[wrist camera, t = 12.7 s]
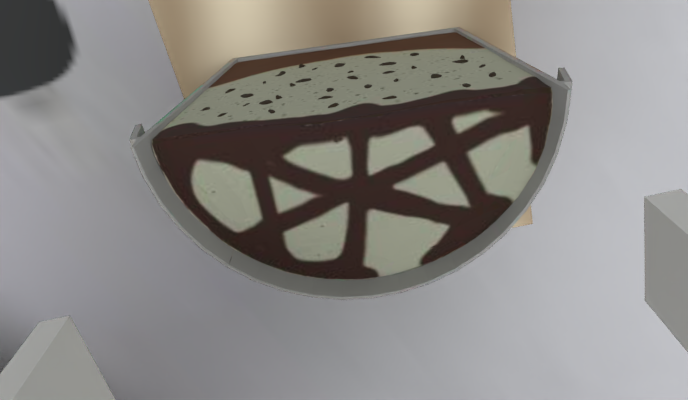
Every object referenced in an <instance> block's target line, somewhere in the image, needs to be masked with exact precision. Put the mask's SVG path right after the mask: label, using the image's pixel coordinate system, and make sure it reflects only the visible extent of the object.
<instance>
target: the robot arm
mask: <svg viewBox="0 0 688 400" xmlns="http://www.w3.org/2000/svg"><path fill="white" fill-rule="evenodd" d="M644 232H645V301H646V302H647V304H648V305H649V306H650V307H651V309H652V310H653V311H654V312H655V313H656V315H657V316H658V317H659V318H660V319H661V321H662V322H663V323H664V324H665V325H666V327H667V328H668V329H669V330H670V331H671V333H672V334H673V335H674V336H675V338H676V339H677V340H678V341H679V342H680V344H681V345H682V346H683V347H684V348H685V350H686V351H687V352H688V194H687V193H686V192H684V191H683V190H682V189H679V190H674V191H669V192H664V193H660V194H655V195H650V196H645V197H644ZM0 400H115V398H114V396H113V395H112V393H111V391H110V389H109V387H108V385H107V383H106V382H105V380H104V378H103V376H102V374H101V372H100V370H99V369H98V367H97V365H96V363H95V361H94V359H93V358H92V356H91V354H90V352H89V350H88V348H87V346H86V345H85V343H84V341H83V339H82V337H81V335H80V333H79V332H78V330H77V328H76V326H75V324H74V322H73V320H72V319H71V317H70V316H65V317H60V318H55V319H50V320H46V321H41V322H39V323H38V324H37V325H36V327H35V328H34V329H33V331H32V332H31V334H30V335H29V336H28V338H27V339H26V340H25V342H24V343H23V344H22V346H21V347H20V348H19V350H18V351H17V352H16V354H15V355H14V356H13V358H12V359H11V360H10V362H9V363H8V364H7V366H6V367H5V368H4V370H3V371H2V372H1V374H0Z"/></svg>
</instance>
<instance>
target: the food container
mask: <svg viewBox="0 0 688 400" xmlns="http://www.w3.org/2000/svg"><path fill="white" fill-rule="evenodd" d="M571 89H572V80H571V78H570V76H569V75H568V73H567V71H566V69H565V68H559V69H558V77H557V79H555V78H553V77H551V76H549V75H548V74H546V73H544V72H542V71H540V70H538V69H536V68H534V67H533V66H531V65H529V64H527V63H525V62H523V61H521V60H520V59H518V58H516V57H514V56H512V55H510V54H508V53H507V52H505V51H503V50H501V49H499V48H497V47H495V46H494V45H492V44H490V43H488V42H486V41H484V40H482V39H481V38H479V37H477V36H475V35H473V34H471V33H469V32H468V31H466V30H464V29H462V28H460V27H454V28H447V29H440V30H433V31H426V32H419V33H411V34H404V35H397V36H390V37H383V38H375V39H368V40H361V41H354V42H347V43H339V44H332V45H325V46H318V47H311V48H304V49H296V50H289V51H282V52H275V53H268V54H260V55H253V56H246V57H239V58H233V59H232V60H230V61H229V62H228V63H227V64H226V65H225V66H223V67H222V68H221V69H220V70H219V71H218V72H216V73H215V74H214V75H213V76H212V77H210V78H209V79H208V80H207V81H206V82H205V83H203V84H202V85H201V86H200V87H199V88H197V89H196V90H195V91H194V92H193V93H192V94H190V95H189V96H188V97H187V98H186V99H185V100H183V101H182V102H181V103H180V104H179V105H177V106H176V107H175V108H174V109H173V110H172V111H170V112H169V113H168V114H167V115H166V116H164V117H163V118H162V119H161V120H160V121H159V122H157V123H156V124H155V125H154V126H153V127H152V128H150V129H149V130H148V131H147V132H146V133H145V131H144V129H143V126H142V124H138V125H135V128H134V130H133V132H132V135H131V137H130V139H129V141H130V143H131V150H132V152H133V155H134V157H135V159H136V162H137V164H138V167H139V169H140V171H141V174H142V176H143V178H144V179H145V181H146V183H147V184H148V186H149V188H150V190H151V191H152V193H153V195H154V196H155V198H156V200H157V201H158V203H159V204H160V206H161V207H162V208H163V209H164V211H165V212H166V213H167V214H168V216H169V217H170V218H171V219H172V220H173V222H174V223H175V224H176V225H177V227H178V228H179V229H180V230H181V231H182V232H183V233H185V234H186V235H187V236H188V237H189V238H190V239H191V240H192V241H193V242H194V243H195V244H196V245H197V246H199V247H200V248H201V249H202V250H203V251H205V252H206V253H208V254H209V255H210V256H212V257H213V258H215V259H216V260H218V261H219V262H220V263H222V264H223V265H225V266H226V267H228V268H230V269H232V270H234V271H236V272H238V273H240V274H241V275H243V276H245V277H247V278H249V279H251V280H253V281H256V282H258V283H261V284H264V285H267V286H270V287H272V288H275V289H278V290H281V291H285V292H289V293H294V294H299V295H303V296H308V297H315V298H327V299H339V300H345V299H365V298H375V297H381V296H386V295H392V294H397V293H402V292H405V291H408V290H411V289H415V288H418V287H421V286H424V285H427V284H430V283H432V282H434V281H436V280H438V279H441V278H443V277H445V276H447V275H449V274H451V273H453V272H455V271H457V270H459V269H460V268H462V267H464V266H465V265H467V264H468V263H470V262H471V261H473V260H474V259H476V258H477V257H479V256H481V255H482V254H483V253H485V252H486V251H487V250H488V249H489V248H490V247H492V246H493V245H494V244H495V243H496V242H497V241H498V240H500V239H501V238H502V237H503V236H504V235H505V234H506V233H507V232H508V231H509V230H510V229H511V228H512V227H513V226H514V224H515V223H516V222H517V221H518V220H519V219H520V218H521V216H522V215H523V214H524V213H525V212H526V211H527V209H528V208H529V206H530V205H531V203H532V202H533V200H534V199H535V197H536V195H537V194H538V192H539V191H540V189H541V188H542V186H543V185H544V183H545V181H546V179H547V176H548V174H549V172H550V170H551V168H552V166H553V163H554V161H555V159H556V157H557V155H558V152H559V148H560V145H561V141H562V138H563V134H564V131H565V127H566V124H567V120H568V113H569V105H570V97H571Z"/></svg>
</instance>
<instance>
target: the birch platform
mask: <svg viewBox="0 0 688 400" xmlns="http://www.w3.org/2000/svg"><path fill="white" fill-rule="evenodd" d="M148 1H149V3H150V6H151V9H152V12H153V14H154V17H155V20H156V23H157V25H158V28H159V31H160V34H161V36H162V39H163V42H164V45H165V47H166V50H167V53H168V56H169V58H170V61H171V64H172V67H173V69H174V72H175V75H176V78H177V80H178V83H179V86H180V89H181V91H182V94H183V97H184V100H185V99H186V98H187V97H188V96H189V95H190V94H192V93H193V92H194V91H195V90H196V89H197V88H199V87H200V86H201V85H202V84H203V83H205V82H206V81H207V80H208V79H209V78H210V77H212V76H213V75H214V74H215V73H216V72H218V71H219V70H220V69H221V68H222V67H223V66H225V65H226V64H227V63H228V62H229V61H230V60H232V59H233V58H239V57H246V56H253V55H260V54H268V53H275V52H282V51H289V50H296V49H304V48H311V47H318V46H325V45H332V44H339V43H347V42H354V41H361V40H368V39H375V38H383V37H390V36H397V35H404V34H411V33H419V32H426V31H433V30H440V29H447V28H454V27H460V28H462V29H464V30H466V31H468V32H469V33H471V34H473V35H475V36H477V37H479V38H481V39H482V40H484V41H486V42H488V43H490V44H492V45H494V46H495V47H497V48H499V49H501V50H503V51H505V52H507V53H508V54H510V55H512V56H514V57H516V52H515V42H514V32H513V22H512V12H511V2H510V0H148ZM529 224H533V223H532V213H531V205H530V206H529V208H528V209H527V211H526V212H525V213H524V214H523V215H522V216H521V218H520V219H519V220H518V221H517V222H516V223H515V224H514V226H513V227H512V228H514V227H519V226H524V225H529ZM250 280H251V279H250Z"/></svg>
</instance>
